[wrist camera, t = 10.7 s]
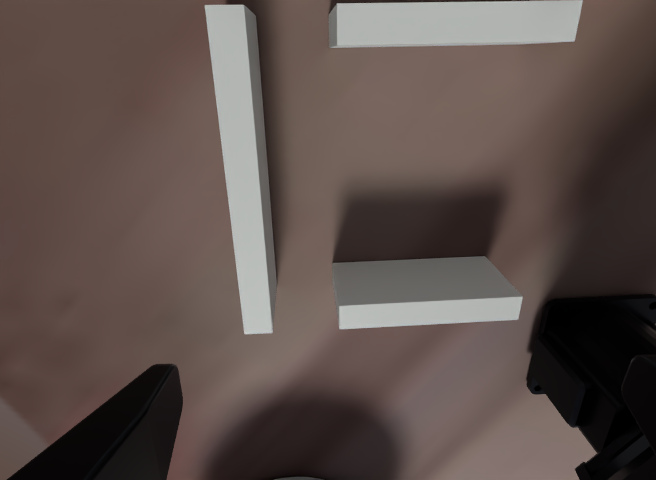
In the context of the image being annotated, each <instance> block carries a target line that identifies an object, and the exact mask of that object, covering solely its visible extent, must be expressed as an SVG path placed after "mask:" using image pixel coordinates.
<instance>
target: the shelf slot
mask: <svg viewBox="0 0 656 480" xmlns="http://www.w3.org/2000/svg"><path fill="white" fill-rule="evenodd" d="M582 2H583V0H573V1H493V2H414V3H337V4H336V5H335V7H334V8H333V10H332V11H331V12H330V14H329V48H349V47H404V46H459V45H514V44H535V43H554V42H572V41H575V37H576V32H577V27H578V22H579V17H580V12H581V7H582ZM205 11H206V20H207V28H208V36H209V44H210V53H211V61H212V69H213V77H214V86H215V94H216V102H217V110H218V119H219V127H220V135H221V143H222V152H223V160H224V168H225V176H226V185H227V193H228V201H229V209H230V218H231V226H232V234H233V242H234V251H235V259H236V267H237V275H238V284H239V292H240V300H241V308H242V317H243V325H244V333H245V334H261V333H273V323H274V313H275V302H276V291H277V280H276V267H275V254H274V241H273V228H272V215H271V203H270V190H269V177H268V164H267V151H266V138H265V126H264V113H263V100H262V87H261V74H260V61H259V49H258V36H257V23H256V16H255V15H254V14H253V13H252V12H251V11H250V10H249V9H248V8H247V7H246V6H245V5H205ZM332 279H333V290H334V296H335V303H336V310H337V316H338V323H339V329H354V328H373V327H391V326H410V325H428V324H447V323H466V322H484V321H503V320H518V318H519V313H520V308H521V303H522V298H523V296H522V295H521V294H520V293H519V292H518V291H517V290H516V289H515V288H514V287H513V286H512V285H511V283H510V282H509V281H508V280H507V279H506V278H505V277H504V276H503V275H502V274H501V273H500V272H499V271H498V269H497V268H496V267H495V266H494V265H493V264H492V263H491V262H490V261H489V260H488V259H487V258H486V257H485V256H475V257H453V258H431V259H409V260H387V261H365V262H343V263H332Z"/></svg>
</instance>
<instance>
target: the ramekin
mask: <svg viewBox="0 0 656 480" xmlns="http://www.w3.org/2000/svg"><path fill="white" fill-rule="evenodd" d="M274 480H323V479H318V478H313V477H286V478H279V479H274Z"/></svg>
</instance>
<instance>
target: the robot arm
mask: <svg viewBox="0 0 656 480" xmlns="http://www.w3.org/2000/svg"><path fill="white" fill-rule="evenodd" d="M556 307H557V309H555V308H556ZM554 309H555V310H554ZM655 324H656V296H655V295H653V294H644V295H624V296H605V297H585V298H566V299H553V300H550V301H549V302H548V303H547V304H546V305H545V307H544V312H543V316H542V320H541V325H540V329H539V333H538V337H537V338H536V343H535V347H534V351H533V356H532V360H531V364H530V369H529V377H528V381H527V387H528V389H529V390H530V391H531V393H533V394H546V395H547V396H548V398H549V399H550V401H551V402H552V403H553V405H554V406H555V407H556V409H557V410H558V411H559V413H560V414H561V416H562V417H563V418H564V420H565V421H566V422H567V423H568V424H569V425H570V426H571V427H573V428H574V427H578V428H579V430H580V431H581V432H582V434H583V435H584V436H585V438H586V439H587V440H588V442H589V443H590V444H591V446H592V447H593V448H594V450H595V451H596V452H597V454H596V455H595V456H594V457H592V458H591V459H590V460H589V461H587V462H586V463H585V462H583V463H581V464H580V465H579V466H578V467H577V468H575V471H576V473H577V475H578V477H579V479H580V480H656V325H655ZM182 406H183V396H182V389H181V383H180V377H179V371H178V368H177V366H176V365H174V364H155V365H153V366H151V367H150V368H148V369H147V370H146V371H145V372H143V373H142V374H141V375H139V376H138V377H137V378H136V379H134V380H133V381H132V382H131V383H129V384H128V385H127V386H125V387H124V388H123V389H122V390H120V391H119V392H118V393H117V394H115V395H114V396H113V397H111V398H110V399H109V400H108V401H106V402H105V403H104V404H102V405H101V406H100V407H99V408H97V409H96V410H95V411H94V412H92V413H91V414H90V415H88V416H87V417H86V418H85V419H83V420H82V421H81V422H80V423H78V424H77V425H76V426H74V427H73V428H72V429H71V430H69V431H68V432H67V433H66V434H64V435H63V436H62V437H60V438H59V439H58V440H57V441H55V442H54V443H53V444H52V445H50V446H49V447H48V448H46V449H45V450H44V451H43V452H41V453H40V454H39V455H38V456H37V457H35V458H34V459H32V460H31V461H30V462H29V463H27V464H26V465H25V466H24V467H22V468H21V469H20V470H18V471H17V472H16V473H15V474H13V475H12V476H11V477H10V478H8V479H7V480H166V479H167V475H168V470H169V466H170V461H171V457H172V452H173V448H174V443H175V439H176V435H177V430H178V426H179V421H180V417H181V412H182Z"/></svg>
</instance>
